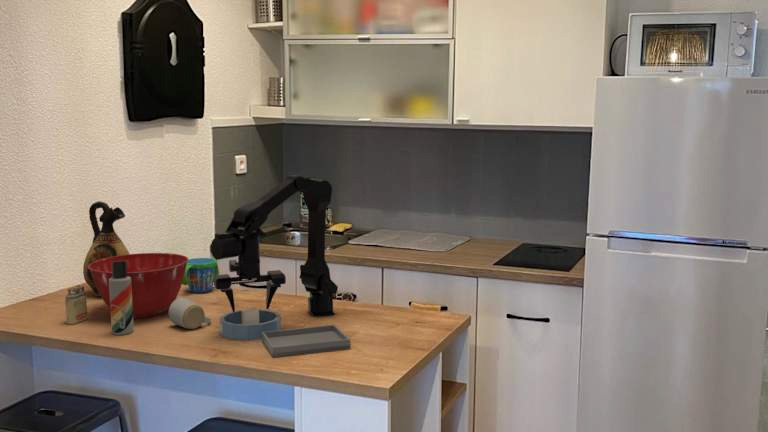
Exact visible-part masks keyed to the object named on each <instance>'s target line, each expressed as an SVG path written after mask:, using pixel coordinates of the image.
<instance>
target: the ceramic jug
mask: <svg viewBox="0 0 768 432" xmlns="http://www.w3.org/2000/svg"><path fill="white" fill-rule="evenodd" d="M98 209H102V211H103V212H102V214H100V216H99V221H98V218H97V213H96V212H97V210H98ZM88 213H89V221H90V224H91V226H92V230H93V234H94V235H93V239H92V243H91V246H90V248H89V250H88V251H87V254H86V256H85V258H84V262H83V272H82V273H83V279H84V281H85V283H86V284H87V285H88V286H89V288H91V289H92V291H93V292H92V294H93V295H95V296H96V297H100V298H102V297H101V295H100V294H99V292H98V290H97V288H96V285H95V283H94V280H93V278H92V275H91V272H90V269H89V268H88V265H89V264H90V263H92V262H94V261H97V260H100V259H104V258H108V257H113V256H120V255H128V254H130V251H129V250H128V248H127V247H126V245H125V244H124V242H123V240H122V239H121V238H120V236H118V233H116V231H115V229H114V223H115V222H116V221H119V220H121V219H124V218H125V217H126V215H125V213H124V211H123V210H122V209H121V208H120V207H119V206H116V207H115V208H113V207H112V206H111V207H110V206H109V205H108V203H107V202H106V203H105V202H103V201H101V200H98V201H95V202H93V203H92V204H91V205H90V207H89V210H88ZM99 222H100V223H102V225H101V228H100V225H99Z"/></svg>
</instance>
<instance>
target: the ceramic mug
mask: <svg viewBox="0 0 768 432" xmlns="http://www.w3.org/2000/svg"><path fill="white" fill-rule="evenodd" d="M168 318H169V320H170V321H171V322H172V323H173V324H175V325H177V326H179V327H183V329H186V330H187V329H188V330H196V329H198V328H199V327H200V326H201V325H202V324H203V323H204V324H207V325H209V324H210V323H211V321H212V318H211V317H208V316H206V315H205V311H204V308H203V307H202V306H201V305H199V304H198V303H196V302H194V301H192V300H190V299H188V298H186V297H179V298H176V299H175V301H173V303H172V304H171V305H170V307H169V308H168Z"/></svg>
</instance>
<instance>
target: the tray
mask: <svg viewBox="0 0 768 432" xmlns="http://www.w3.org/2000/svg"><path fill="white" fill-rule="evenodd" d="M261 334H262V339H261V343H262V344H263V345H264V347H265V348H266V349H267V351H268V353H269V354H270V355H271V357H272V358H280V357H281V358H282V357H289V356H297V355H306V354H307V355H308V354H316V353H318V354H319V353H325V352H333V351H335V352H336V351H343V350H351V338H349V336H348V335H346V334H345V333H344V332H343V330H341V329H340V328H339V327H338V326H337V325H336V324H328V325H317V326H309V327H308V326H307V327H300V328H299V327H298V328H287V329H281V330H277V331H267V332H261Z"/></svg>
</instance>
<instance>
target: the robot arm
mask: <svg viewBox="0 0 768 432" xmlns="http://www.w3.org/2000/svg"><path fill="white" fill-rule="evenodd" d="M296 193H302V196H303V201H304V204H305V206H306V207H307V210H308V213H307V214H308V215H307V218H308V219H307V220H308V222H307V223H308V227H307V236H308V237H307V259H306V260H305V263H304V264H301V265H300V267H299V271H300V275H299V279H301V280H300V281H301V284H302V285H303V287H304V289H305V292H306V293H309V297H308V298H307V312H308V313H310V314H311V315H312V317H321V316H331V315H335V314H336V313H335V311H334V295H336V294H338V293H337V292H338V288H339V286H338V285H337V284H336V283H335V282H334V281H333V280H332V279H331V271H330V267H329V265H328V263H327V261H326V259H325V258H326V257H325V256H326V254H325V253H326V252H325V251H326V214H327V213H326V212H327V211H326V210H327V208H328V207H329V206H330V203H331V201H332V195H333V185H332V184H331V182H329V181H328V180H324V179H318V178H307V177H303V176H301V175H295V174H294V175H293V174H292V175H291V174H290V175H288V176H286V178H285V179H284V180H283V181H282V182H280V183H279V184H278V185H276V186H275V187H273V188H272V189H271V190H269V191H268V192H266V193H265V195H263V196H262V197H260V198H259V199H257V200H256V201H252V202H249V203H246V204H244V205H242V206H240V207H237V208H236V210H234V213H233V216H232V219H231V221H230V223H229V224H228V226H227V227H226V230H225V232H223V233H221V232H219V233H214V238H213V239H212V240H211V243H210V252H211V255H212V257H213V259H215V260H216V261H220V260H225V259H230V260H229V261H228V266H229V267H228V268H229V269H228V270H229V272H230V273H236V276H232V277H231V276H230V275H229V274H219V275H215V277H214V279H213V280H214V282H213V287H214V288H215V289H216V290H219V291H220V292H221V293H225V295H226V298H227V300H228V303H229V305H230V308H231V312H235V311H236V307H235V299H234V298H235V297H234V290H233V288H232V285H240V284H252V283H253V284H254V283H264V282H266V283H265V284H266V297H265V307H266V309H265V310H270V309H269V308H270V306H271V303H272V300H273V298H274V295H275V293H276V292H277V290H278V289H279V288H281V287H282V285H286V281H287V279H286V275H285V274H284V272H282V271H281V270H280V269H279V270H277V269H275V270H267V274H261V259H260V258H261V257H260V238H261V237H266V236H267V234H266V233H265V232H264V231H263V230H262V229H261V227H262V226H263V225H264V224H265V223H266V222H267V220H268V217H269V216H270V214H271V213H272V212H274V210H276V209H277V208H278V207H279V206H281V205H282V204H284V202H286V201H288V200H289V199H291V197H292V196H294V195H296ZM236 257H237V258H238V259H231V258H236Z"/></svg>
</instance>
